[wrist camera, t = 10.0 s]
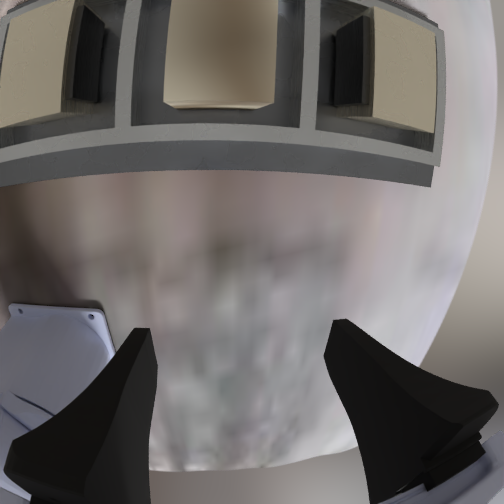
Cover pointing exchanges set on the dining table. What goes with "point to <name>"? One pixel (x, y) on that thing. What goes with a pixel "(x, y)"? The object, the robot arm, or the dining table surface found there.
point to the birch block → (221, 54)
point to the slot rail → (220, 120)
